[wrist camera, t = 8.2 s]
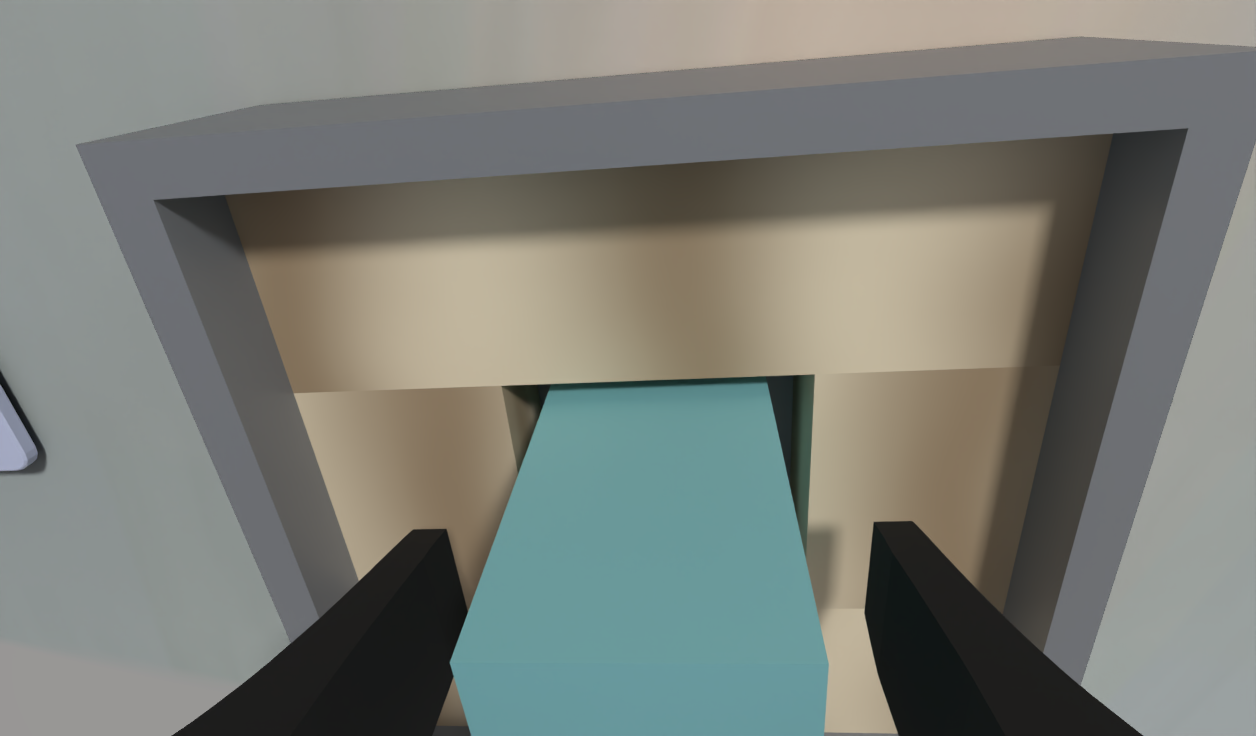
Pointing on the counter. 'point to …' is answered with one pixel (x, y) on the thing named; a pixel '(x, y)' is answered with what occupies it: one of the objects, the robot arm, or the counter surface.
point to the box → (714, 131)
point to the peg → (647, 574)
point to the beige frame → (695, 340)
